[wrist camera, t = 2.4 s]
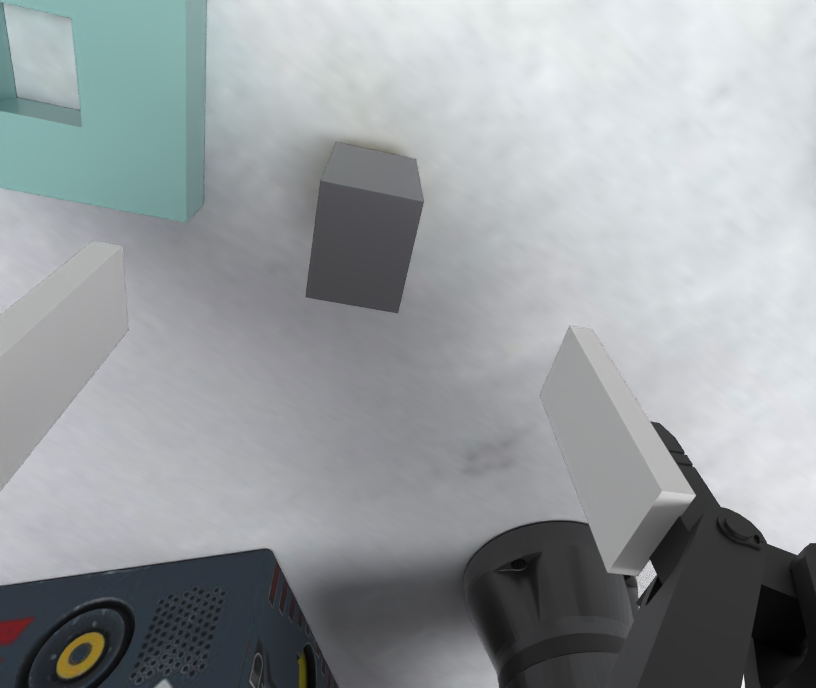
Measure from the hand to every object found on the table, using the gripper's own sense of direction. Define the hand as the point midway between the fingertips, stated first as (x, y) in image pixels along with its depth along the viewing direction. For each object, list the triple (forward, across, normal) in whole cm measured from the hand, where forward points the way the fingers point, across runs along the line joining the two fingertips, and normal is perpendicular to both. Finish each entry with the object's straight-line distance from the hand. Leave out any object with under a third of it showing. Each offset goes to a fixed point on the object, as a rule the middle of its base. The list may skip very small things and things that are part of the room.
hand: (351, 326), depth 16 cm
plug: (+16, 0, 0) cm, 16 cm away
